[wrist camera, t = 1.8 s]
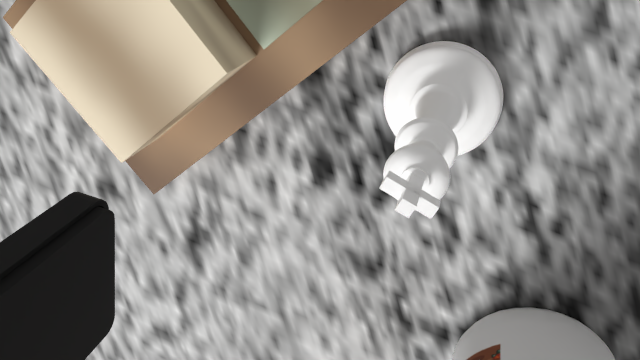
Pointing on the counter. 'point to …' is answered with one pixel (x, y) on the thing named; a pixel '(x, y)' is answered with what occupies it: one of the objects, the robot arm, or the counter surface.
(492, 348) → the milk bottle
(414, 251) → the counter surface
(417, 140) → the chess piece
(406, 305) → the counter surface
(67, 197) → the robot arm
